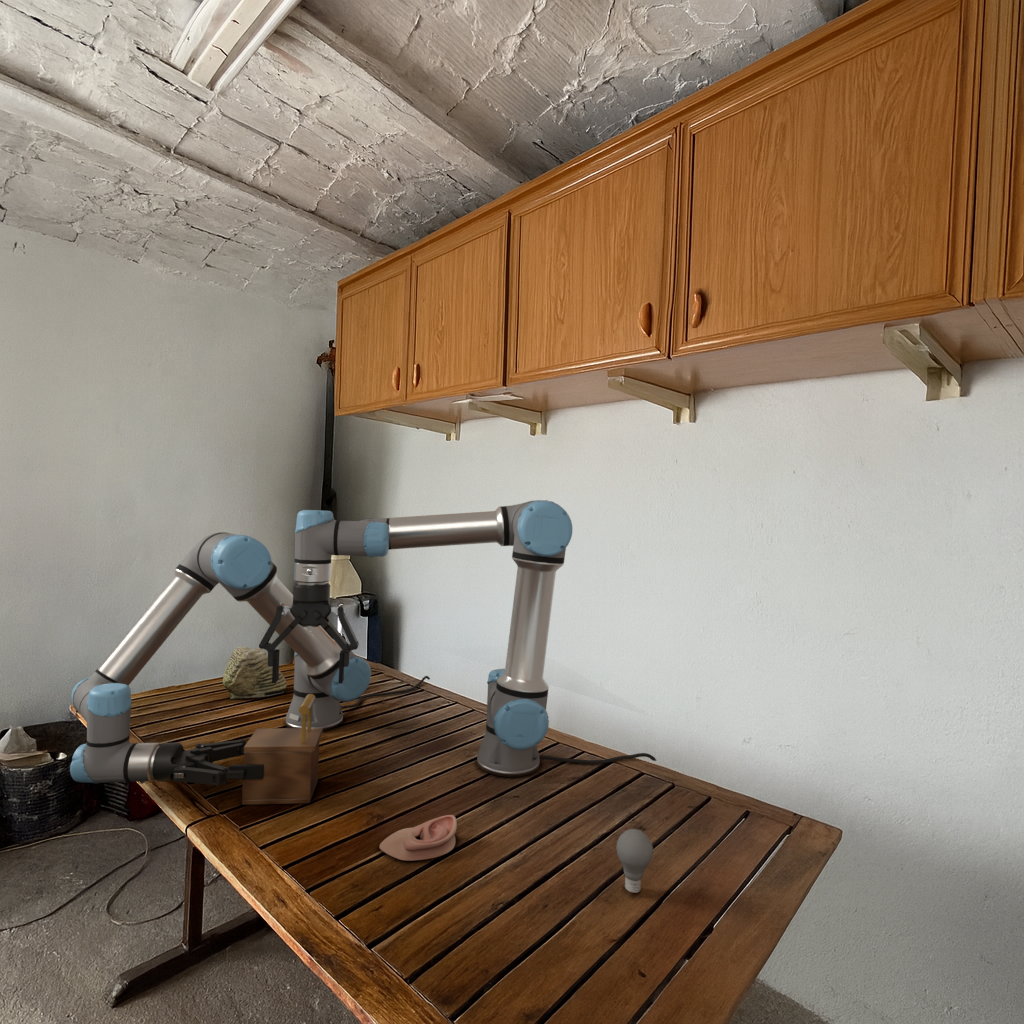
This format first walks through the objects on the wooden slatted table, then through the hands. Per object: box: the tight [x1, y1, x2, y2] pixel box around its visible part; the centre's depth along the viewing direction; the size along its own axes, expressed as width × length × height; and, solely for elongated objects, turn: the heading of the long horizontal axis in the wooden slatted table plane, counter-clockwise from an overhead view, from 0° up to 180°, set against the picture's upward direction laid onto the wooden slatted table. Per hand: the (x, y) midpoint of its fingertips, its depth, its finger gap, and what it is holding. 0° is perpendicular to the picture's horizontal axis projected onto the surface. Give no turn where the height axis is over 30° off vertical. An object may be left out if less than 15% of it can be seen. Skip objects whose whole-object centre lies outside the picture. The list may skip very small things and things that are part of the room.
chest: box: [241, 742, 320, 806], centre depth 135 cm, size 13×10×11 cm
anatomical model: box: [379, 814, 458, 862], centre depth 117 cm, size 13×4×12 cm
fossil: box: [222, 646, 288, 699], centre depth 198 cm, size 9×18×15 cm, turn 132°
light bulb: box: [615, 828, 654, 894], centre depth 106 cm, size 6×6×10 cm
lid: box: [244, 694, 324, 752], centre depth 135 cm, size 14×10×9 cm
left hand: (269, 760), depth 134 cm, fingers closed on chest, 10 cm apart
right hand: (308, 681), depth 135 cm, fingers open, 13 cm apart
